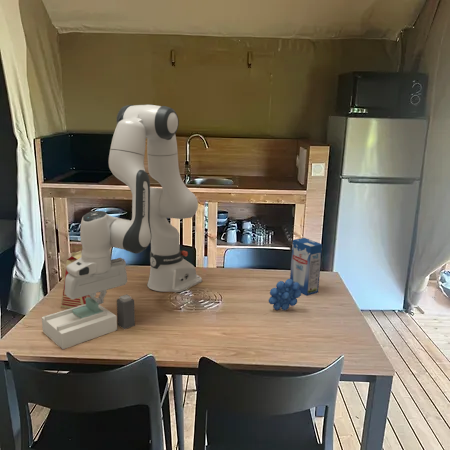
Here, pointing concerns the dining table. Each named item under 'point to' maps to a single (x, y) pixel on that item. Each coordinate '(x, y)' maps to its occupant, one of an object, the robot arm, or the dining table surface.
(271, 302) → the grapes
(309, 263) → the milk carton
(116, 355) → the dining table surface
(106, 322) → the socket
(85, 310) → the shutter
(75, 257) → the milk carton
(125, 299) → the plug
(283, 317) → the dining table surface
